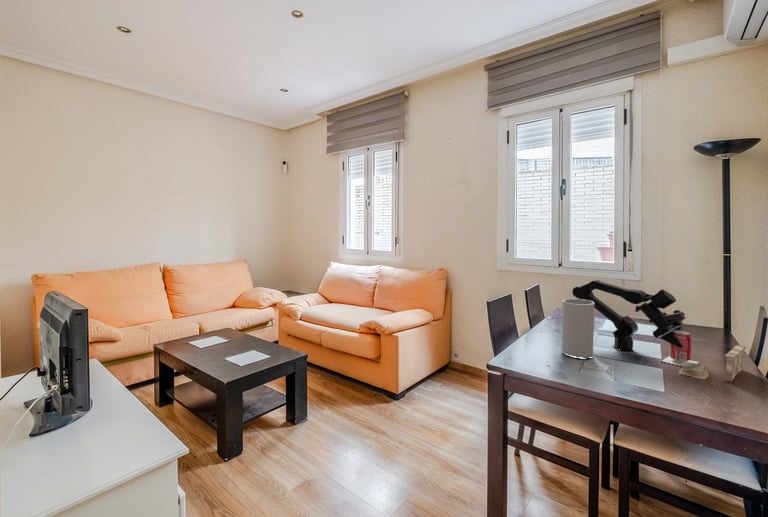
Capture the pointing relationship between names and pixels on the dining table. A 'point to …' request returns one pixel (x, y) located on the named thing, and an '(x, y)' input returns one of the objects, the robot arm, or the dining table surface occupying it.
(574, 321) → the cylinder vase
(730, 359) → the rack board
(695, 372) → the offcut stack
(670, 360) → the white mat
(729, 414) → the dining table surface
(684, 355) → the soda can
